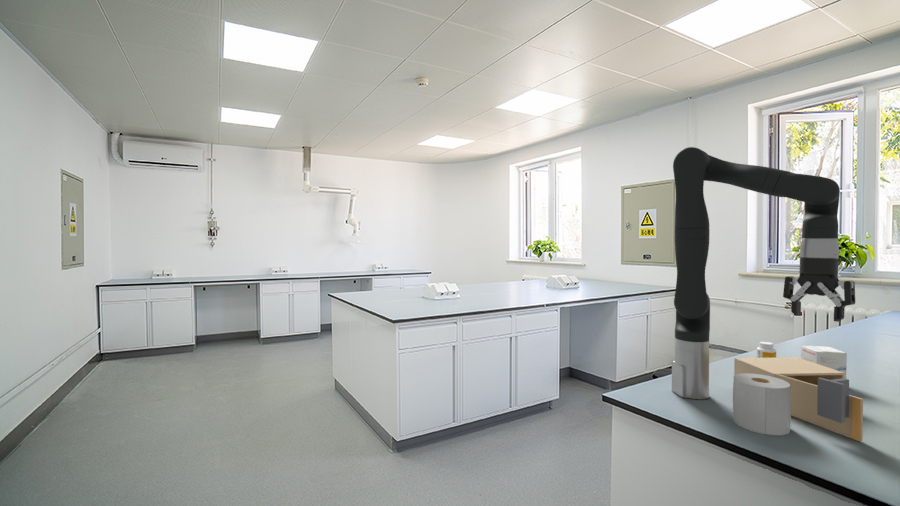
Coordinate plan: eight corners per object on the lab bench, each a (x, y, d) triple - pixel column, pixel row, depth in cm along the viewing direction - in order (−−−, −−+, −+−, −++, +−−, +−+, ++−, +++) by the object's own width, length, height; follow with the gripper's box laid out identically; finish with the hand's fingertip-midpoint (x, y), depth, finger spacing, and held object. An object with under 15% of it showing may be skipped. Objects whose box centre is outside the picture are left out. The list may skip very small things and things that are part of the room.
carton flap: (758, 411, 115) (758, 361, 115) (775, 408, 117) (775, 359, 117) (843, 444, 96) (844, 385, 96) (862, 441, 98) (863, 382, 97)
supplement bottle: (780, 372, 149) (780, 344, 149) (767, 374, 148) (767, 345, 148) (765, 368, 155) (765, 340, 155) (752, 369, 154) (753, 341, 153)
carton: (773, 409, 117) (773, 373, 117) (734, 389, 133) (734, 358, 133) (844, 408, 117) (844, 372, 117) (796, 388, 133) (797, 357, 133)
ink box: (847, 389, 132) (848, 352, 132) (816, 387, 134) (817, 351, 134) (828, 380, 141) (829, 345, 141) (800, 379, 143) (800, 344, 142)
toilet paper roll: (745, 412, 116) (745, 370, 115) (799, 428, 105) (799, 382, 105) (723, 422, 109) (724, 378, 109) (779, 440, 99) (779, 392, 99)
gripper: (779, 255, 113) (777, 314, 114) (847, 257, 100) (845, 324, 101) (793, 254, 116) (791, 312, 117) (861, 257, 104) (859, 322, 104)
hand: (816, 318), depth 109 cm, fingers open, 8 cm apart
